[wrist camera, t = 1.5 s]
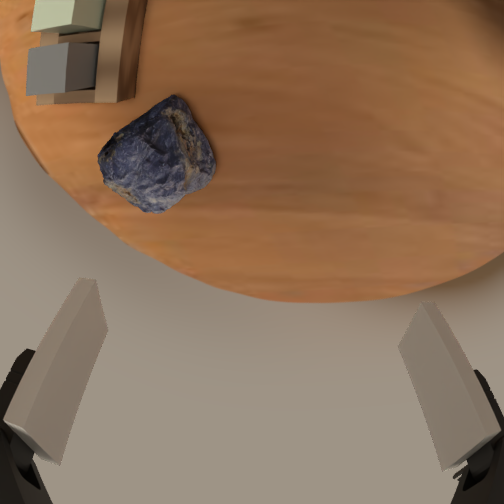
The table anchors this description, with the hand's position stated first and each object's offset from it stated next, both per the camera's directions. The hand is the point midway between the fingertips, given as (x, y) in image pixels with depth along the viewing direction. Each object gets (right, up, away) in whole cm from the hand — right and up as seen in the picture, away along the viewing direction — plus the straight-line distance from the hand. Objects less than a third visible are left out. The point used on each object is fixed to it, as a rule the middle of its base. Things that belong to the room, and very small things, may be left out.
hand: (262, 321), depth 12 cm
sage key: (-15, +24, +7) cm, 30 cm away
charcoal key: (-16, +20, +10) cm, 27 cm away
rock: (-10, +13, +20) cm, 25 cm away
